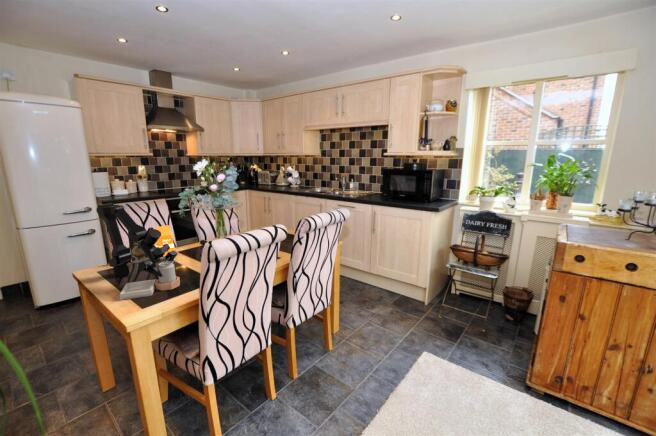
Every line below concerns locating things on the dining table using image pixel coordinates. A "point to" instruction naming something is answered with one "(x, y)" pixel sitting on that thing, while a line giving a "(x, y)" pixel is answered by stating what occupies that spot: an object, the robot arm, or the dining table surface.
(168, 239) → the orange juice
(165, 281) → the can
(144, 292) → the tray
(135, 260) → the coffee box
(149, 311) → the dining table surface
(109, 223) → the robot arm
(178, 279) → the collar
